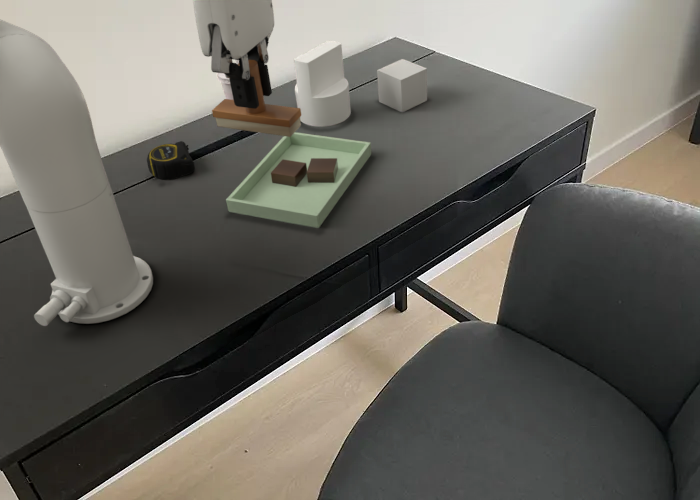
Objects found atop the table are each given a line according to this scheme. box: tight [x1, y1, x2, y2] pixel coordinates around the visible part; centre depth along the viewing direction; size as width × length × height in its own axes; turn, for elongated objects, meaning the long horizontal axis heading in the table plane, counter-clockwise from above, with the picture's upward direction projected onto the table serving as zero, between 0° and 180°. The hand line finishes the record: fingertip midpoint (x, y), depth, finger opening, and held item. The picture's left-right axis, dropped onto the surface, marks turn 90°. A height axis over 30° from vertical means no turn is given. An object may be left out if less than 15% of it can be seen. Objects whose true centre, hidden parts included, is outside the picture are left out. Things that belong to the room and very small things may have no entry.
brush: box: [211, 60, 302, 137], centre depth 92 cm, size 3×11×8 cm, turn 66°
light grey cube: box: [376, 58, 428, 113], centre depth 129 cm, size 6×6×6 cm
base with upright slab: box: [293, 39, 352, 128], centre depth 125 cm, size 9×9×12 cm
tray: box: [225, 131, 372, 229], centre depth 111 cm, size 20×14×3 cm
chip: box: [307, 158, 338, 183], centre depth 112 cm, size 4×4×2 cm
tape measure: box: [146, 140, 196, 181], centre depth 117 cm, size 7×7×4 cm
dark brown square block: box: [271, 159, 307, 187], centre depth 112 cm, size 4×4×2 cm
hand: (253, 99), depth 92 cm, fingers closed on brush, 2 cm apart
